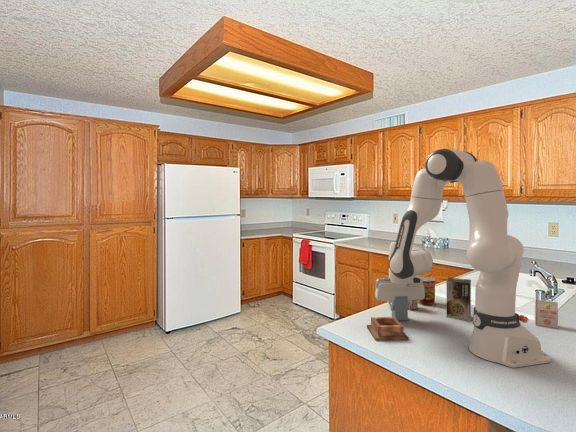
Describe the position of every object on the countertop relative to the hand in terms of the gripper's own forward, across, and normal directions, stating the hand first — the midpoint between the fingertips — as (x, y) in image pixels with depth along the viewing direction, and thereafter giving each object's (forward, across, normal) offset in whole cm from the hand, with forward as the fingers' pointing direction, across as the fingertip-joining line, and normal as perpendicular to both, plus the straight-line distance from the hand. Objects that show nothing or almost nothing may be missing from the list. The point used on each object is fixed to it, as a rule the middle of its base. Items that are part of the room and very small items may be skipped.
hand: (399, 309), depth 136 cm
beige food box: (+4, +55, -10) cm, 56 cm away
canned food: (+4, +20, +19) cm, 28 cm away
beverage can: (+4, +10, +13) cm, 17 cm away
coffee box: (+4, +26, +1) cm, 26 cm away
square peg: (+4, 0, 0) cm, 4 cm away
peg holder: (+4, -10, -14) cm, 18 cm away
